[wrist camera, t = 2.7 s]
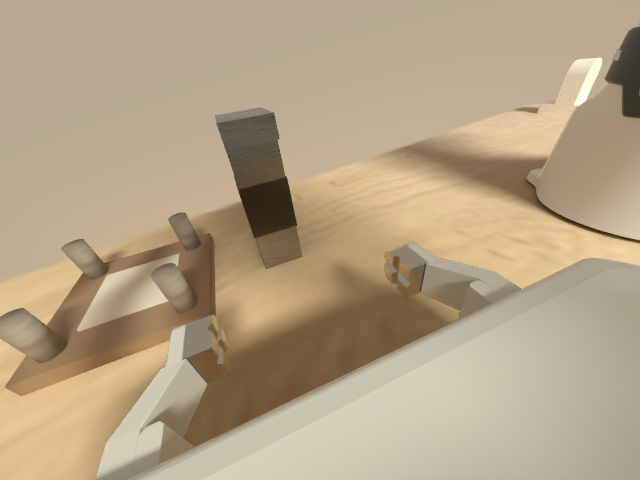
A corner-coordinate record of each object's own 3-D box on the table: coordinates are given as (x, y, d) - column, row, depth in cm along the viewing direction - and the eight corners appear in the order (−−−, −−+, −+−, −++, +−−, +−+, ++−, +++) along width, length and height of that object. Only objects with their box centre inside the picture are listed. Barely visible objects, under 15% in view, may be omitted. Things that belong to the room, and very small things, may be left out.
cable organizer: (547, 109, 59) (566, 59, 53) (601, 111, 52) (630, 54, 46) (535, 113, 57) (554, 62, 52) (590, 116, 50) (618, 57, 44)
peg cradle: (213, 241, 27) (196, 205, 24) (215, 322, 18) (188, 278, 15) (93, 277, 24) (59, 240, 22) (21, 395, 15) (-56, 357, 12)
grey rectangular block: (291, 234, 27) (261, 107, 19) (305, 260, 22) (275, 112, 15) (257, 244, 26) (213, 115, 18) (266, 274, 22) (214, 123, 14)
